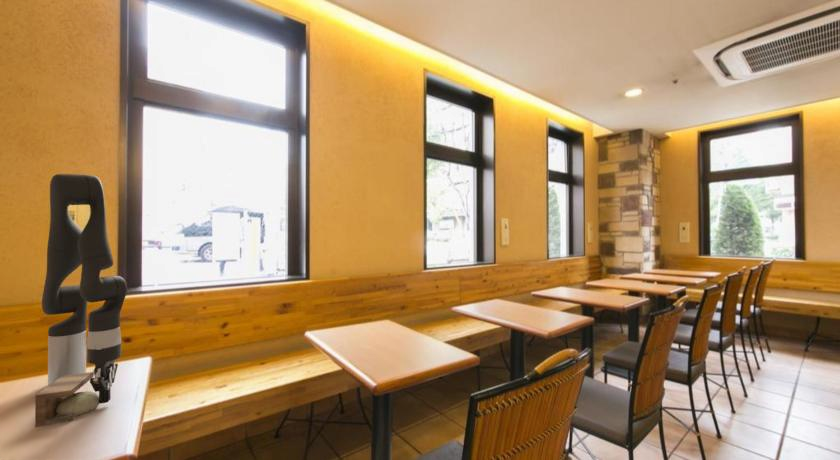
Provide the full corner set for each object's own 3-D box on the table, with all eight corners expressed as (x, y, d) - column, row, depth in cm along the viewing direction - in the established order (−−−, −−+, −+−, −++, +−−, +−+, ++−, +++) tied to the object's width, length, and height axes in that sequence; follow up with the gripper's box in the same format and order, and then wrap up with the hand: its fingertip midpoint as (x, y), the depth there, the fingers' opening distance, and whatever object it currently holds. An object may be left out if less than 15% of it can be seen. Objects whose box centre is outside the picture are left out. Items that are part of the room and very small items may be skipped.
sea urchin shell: (73, 414, 96) (59, 391, 98) (59, 431, 98) (45, 408, 99) (110, 399, 105) (97, 378, 106) (97, 415, 106) (84, 394, 108)
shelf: (62, 403, 106) (62, 375, 106) (93, 399, 109) (93, 371, 109) (35, 427, 93) (35, 395, 94) (70, 421, 96) (70, 390, 96)
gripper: (98, 339, 109) (98, 395, 109) (77, 352, 97) (77, 415, 97) (128, 336, 112) (128, 390, 112) (111, 348, 100) (111, 409, 100)
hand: (104, 401), depth 104 cm, fingers closed
